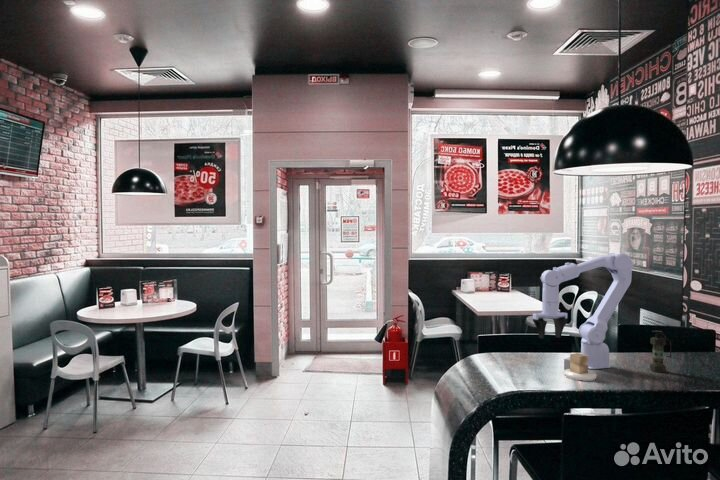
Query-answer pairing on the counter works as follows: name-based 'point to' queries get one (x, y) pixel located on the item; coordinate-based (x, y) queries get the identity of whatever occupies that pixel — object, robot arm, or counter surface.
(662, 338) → the grenade
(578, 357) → the oak block
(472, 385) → the counter surface
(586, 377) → the coaster
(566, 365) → the grey block
